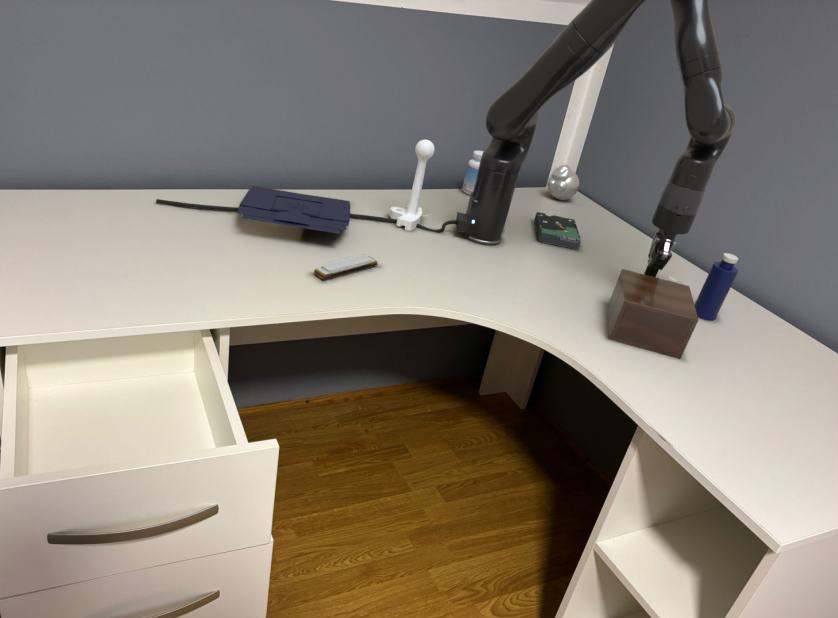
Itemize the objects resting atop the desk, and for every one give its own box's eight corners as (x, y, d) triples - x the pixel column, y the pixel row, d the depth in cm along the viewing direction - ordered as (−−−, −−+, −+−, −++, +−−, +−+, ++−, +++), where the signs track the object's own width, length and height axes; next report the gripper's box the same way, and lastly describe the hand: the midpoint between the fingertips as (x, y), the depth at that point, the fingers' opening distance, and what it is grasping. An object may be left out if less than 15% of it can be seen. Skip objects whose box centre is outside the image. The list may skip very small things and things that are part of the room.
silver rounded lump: (538, 191, 207) (547, 158, 202) (567, 195, 208) (578, 162, 203) (547, 202, 199) (557, 168, 194) (578, 206, 201) (589, 172, 196)
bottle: (696, 318, 149) (723, 259, 142) (688, 307, 154) (714, 249, 146) (718, 322, 150) (747, 263, 142) (710, 311, 154) (737, 253, 147)
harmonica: (323, 281, 135) (325, 272, 134) (313, 274, 137) (314, 265, 136) (377, 266, 145) (378, 258, 144) (367, 260, 146) (368, 252, 145)
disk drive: (532, 221, 184) (537, 242, 172) (535, 211, 183) (540, 231, 170) (571, 229, 184) (579, 250, 172) (574, 219, 183) (582, 239, 170)
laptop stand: (230, 230, 145) (231, 212, 143) (251, 196, 172) (252, 181, 171) (346, 247, 147) (349, 231, 145) (349, 212, 174) (351, 197, 173)
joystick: (414, 232, 164) (431, 148, 154) (383, 224, 165) (398, 140, 155) (423, 216, 173) (440, 136, 163) (394, 209, 174) (409, 129, 164)
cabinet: (608, 305, 148) (622, 268, 143) (673, 322, 146) (689, 286, 141) (608, 339, 135) (624, 300, 130) (680, 358, 133) (698, 320, 128)
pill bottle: (482, 198, 193) (492, 158, 187) (460, 193, 194) (470, 153, 188) (483, 191, 198) (493, 152, 192) (462, 187, 199) (472, 148, 193)
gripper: (657, 191, 146) (628, 266, 155) (662, 211, 135) (630, 290, 144) (693, 200, 145) (662, 274, 154) (701, 221, 134) (667, 299, 143)
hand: (647, 282), depth 149 cm, fingers closed
